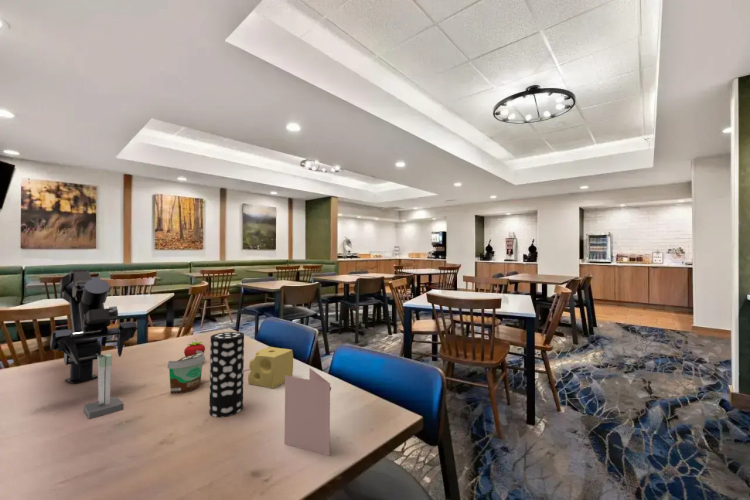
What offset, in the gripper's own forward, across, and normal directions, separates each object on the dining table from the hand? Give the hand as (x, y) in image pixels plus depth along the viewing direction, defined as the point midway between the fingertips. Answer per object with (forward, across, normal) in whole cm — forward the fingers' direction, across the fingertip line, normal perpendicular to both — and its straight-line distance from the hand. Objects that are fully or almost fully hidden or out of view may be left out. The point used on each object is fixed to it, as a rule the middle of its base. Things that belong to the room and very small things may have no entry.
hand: (99, 359), depth 92 cm
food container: (+14, +21, +3) cm, 26 cm away
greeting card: (+51, +25, -34) cm, 67 cm away
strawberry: (-2, +31, +19) cm, 36 cm away
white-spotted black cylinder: (+30, +22, -13) cm, 39 cm away
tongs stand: (+13, 0, +4) cm, 14 cm away
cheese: (+24, +41, -7) cm, 48 cm away
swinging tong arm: (+12, 0, +3) cm, 12 cm away
